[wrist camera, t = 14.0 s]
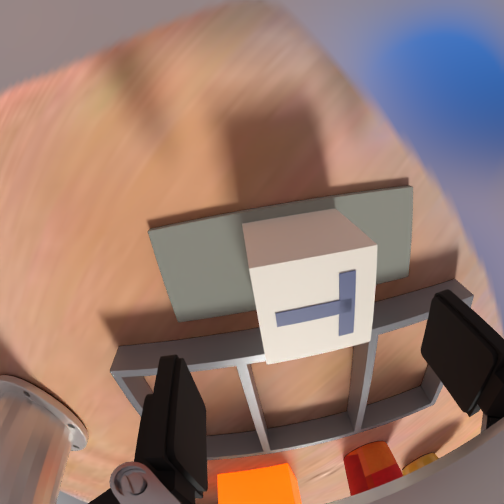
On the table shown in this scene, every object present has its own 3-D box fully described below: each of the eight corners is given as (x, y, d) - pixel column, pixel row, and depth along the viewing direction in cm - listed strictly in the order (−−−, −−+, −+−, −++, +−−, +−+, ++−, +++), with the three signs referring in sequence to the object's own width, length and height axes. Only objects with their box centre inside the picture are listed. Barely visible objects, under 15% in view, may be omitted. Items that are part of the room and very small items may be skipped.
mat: (178, 318, 18) (178, 322, 17) (149, 228, 15) (147, 231, 15) (405, 273, 18) (408, 276, 18) (409, 185, 15) (412, 186, 15)
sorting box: (178, 440, 24) (177, 461, 22) (119, 346, 18) (109, 371, 16) (424, 387, 24) (434, 404, 22) (454, 278, 19) (473, 295, 16)
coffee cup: (351, 470, 31) (376, 553, 18) (323, 461, 29) (349, 562, 15) (402, 442, 30) (438, 526, 16) (383, 429, 27) (425, 533, 13)
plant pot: (453, 440, 35) (473, 478, 26) (423, 467, 39) (438, 503, 30) (413, 454, 33) (433, 499, 24) (383, 480, 37) (397, 520, 28)
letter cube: (242, 223, 15) (248, 269, 11) (335, 208, 15) (378, 245, 11) (256, 304, 17) (266, 365, 13) (338, 288, 17) (370, 341, 13)
